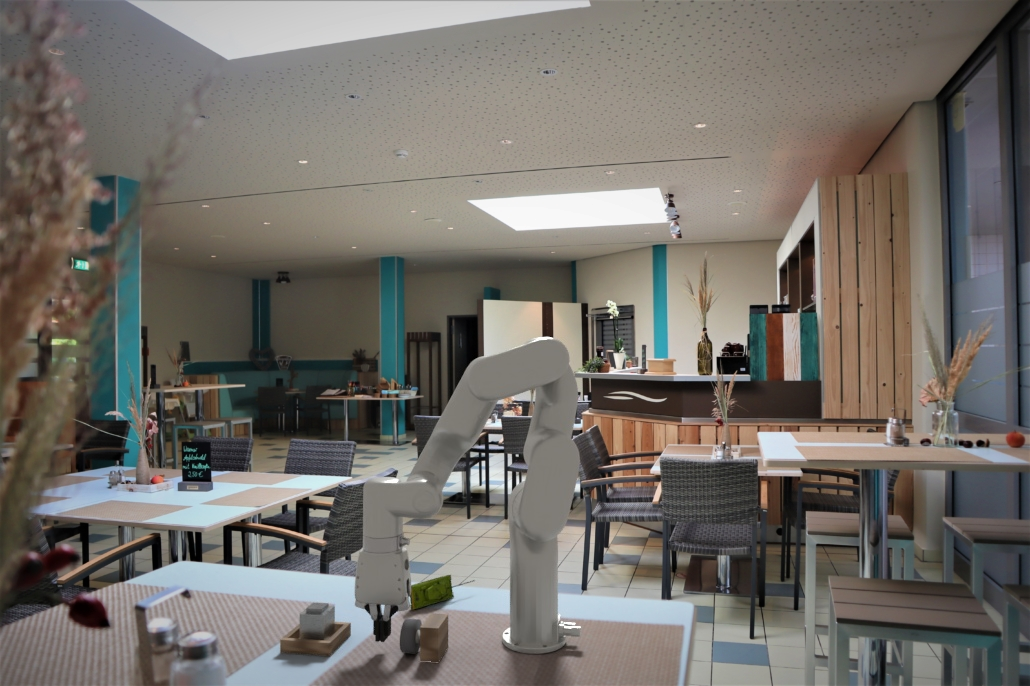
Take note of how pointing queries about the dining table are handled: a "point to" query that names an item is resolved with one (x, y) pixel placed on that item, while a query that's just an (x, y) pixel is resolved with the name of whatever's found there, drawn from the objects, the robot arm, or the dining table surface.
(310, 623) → the block
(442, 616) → the block
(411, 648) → the wheel
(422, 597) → the toy tank
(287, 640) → the tray
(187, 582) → the dining table surface
